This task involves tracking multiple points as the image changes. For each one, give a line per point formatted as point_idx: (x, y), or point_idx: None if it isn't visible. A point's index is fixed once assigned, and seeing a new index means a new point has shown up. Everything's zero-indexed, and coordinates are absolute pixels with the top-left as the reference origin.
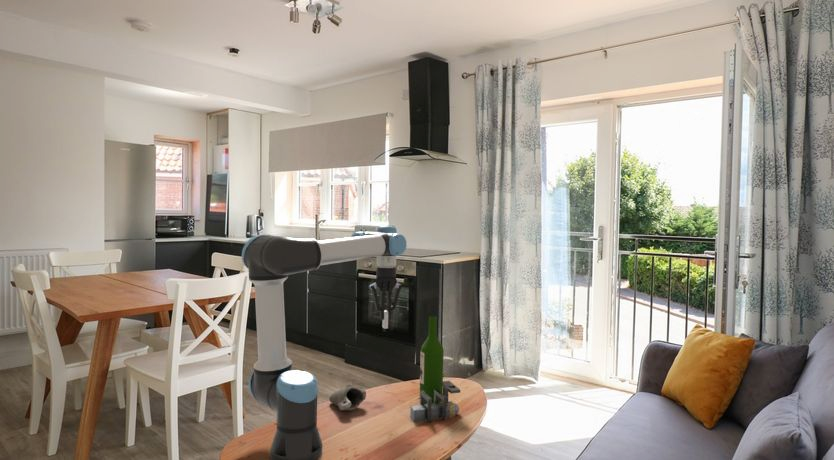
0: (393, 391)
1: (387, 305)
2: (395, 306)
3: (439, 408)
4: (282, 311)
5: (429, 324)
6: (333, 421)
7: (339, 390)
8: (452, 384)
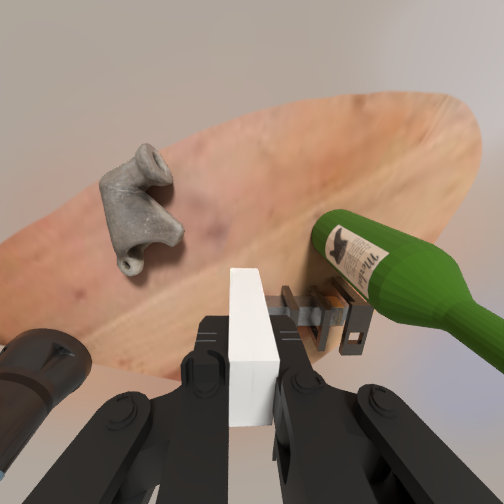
0: (279, 154)
1: (288, 488)
2: (389, 487)
3: (309, 324)
4: None
5: (501, 362)
6: (113, 273)
7: (111, 215)
8: (366, 326)
